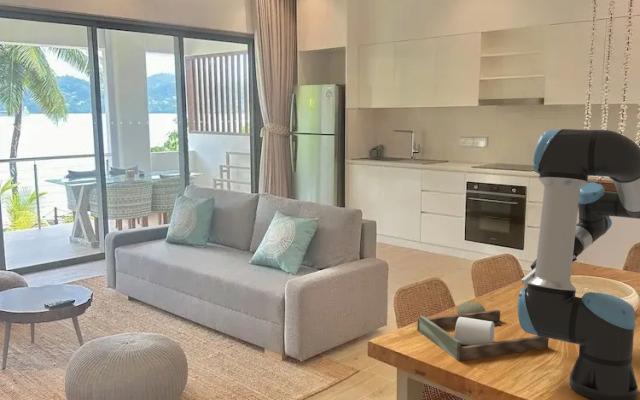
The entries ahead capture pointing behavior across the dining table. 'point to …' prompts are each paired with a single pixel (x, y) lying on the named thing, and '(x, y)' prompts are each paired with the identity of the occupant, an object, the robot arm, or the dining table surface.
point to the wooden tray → (453, 345)
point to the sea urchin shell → (470, 308)
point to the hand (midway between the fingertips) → (524, 283)
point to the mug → (474, 331)
